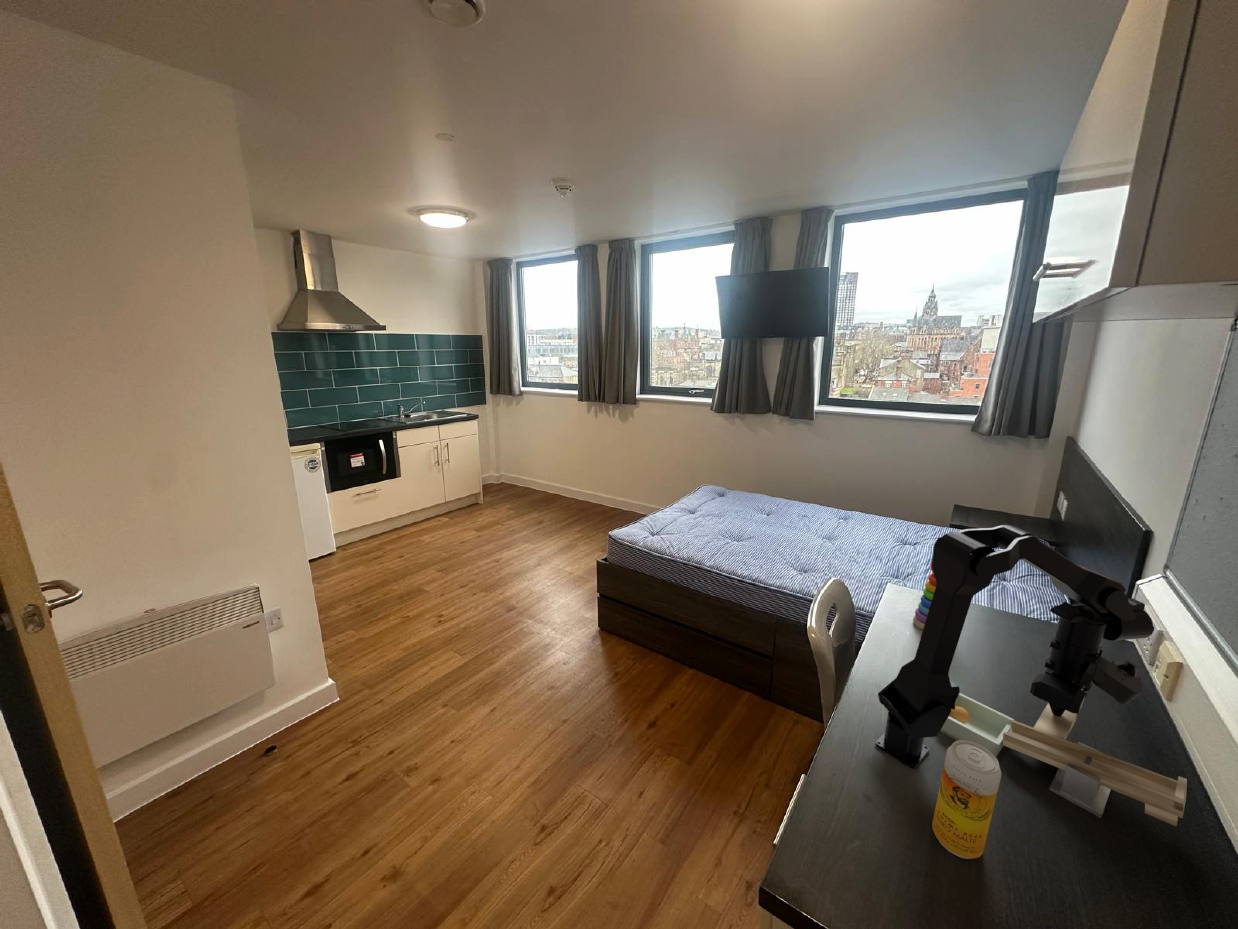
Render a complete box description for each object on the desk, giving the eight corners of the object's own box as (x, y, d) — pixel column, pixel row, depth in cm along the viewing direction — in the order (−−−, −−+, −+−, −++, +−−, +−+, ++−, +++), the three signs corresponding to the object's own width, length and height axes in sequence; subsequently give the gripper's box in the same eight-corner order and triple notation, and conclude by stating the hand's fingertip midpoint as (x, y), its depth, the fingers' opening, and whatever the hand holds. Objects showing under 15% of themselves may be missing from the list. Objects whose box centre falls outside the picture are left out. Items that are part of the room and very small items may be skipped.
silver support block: (1100, 818, 72) (1110, 788, 71) (1049, 789, 77) (1056, 761, 75) (1111, 788, 77) (1119, 760, 75) (1061, 763, 81) (1069, 736, 80)
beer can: (926, 840, 69) (943, 755, 65) (937, 812, 73) (953, 731, 69) (977, 873, 65) (998, 784, 61) (986, 841, 69) (1006, 755, 65)
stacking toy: (949, 640, 115) (962, 569, 110) (910, 628, 120) (922, 559, 115) (951, 625, 121) (964, 557, 116) (914, 614, 126) (925, 548, 121)
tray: (993, 761, 82) (997, 744, 81) (935, 728, 89) (938, 712, 88) (1010, 735, 87) (1014, 719, 86) (953, 706, 94) (956, 691, 93)
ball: (943, 715, 90) (958, 730, 89) (954, 707, 89) (969, 723, 87) (949, 707, 92) (964, 722, 90) (960, 700, 90) (975, 715, 89)
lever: (1181, 830, 66) (1183, 800, 66) (1002, 754, 82) (1002, 730, 82) (1192, 766, 76) (1194, 739, 76) (1030, 710, 92) (1030, 687, 92)
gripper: (1135, 689, 71) (1108, 773, 75) (1153, 641, 82) (1129, 717, 86) (1039, 651, 80) (1019, 729, 83) (1067, 613, 90) (1048, 683, 94)
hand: (1056, 715), depth 87 cm, fingers closed, pressing on lever
